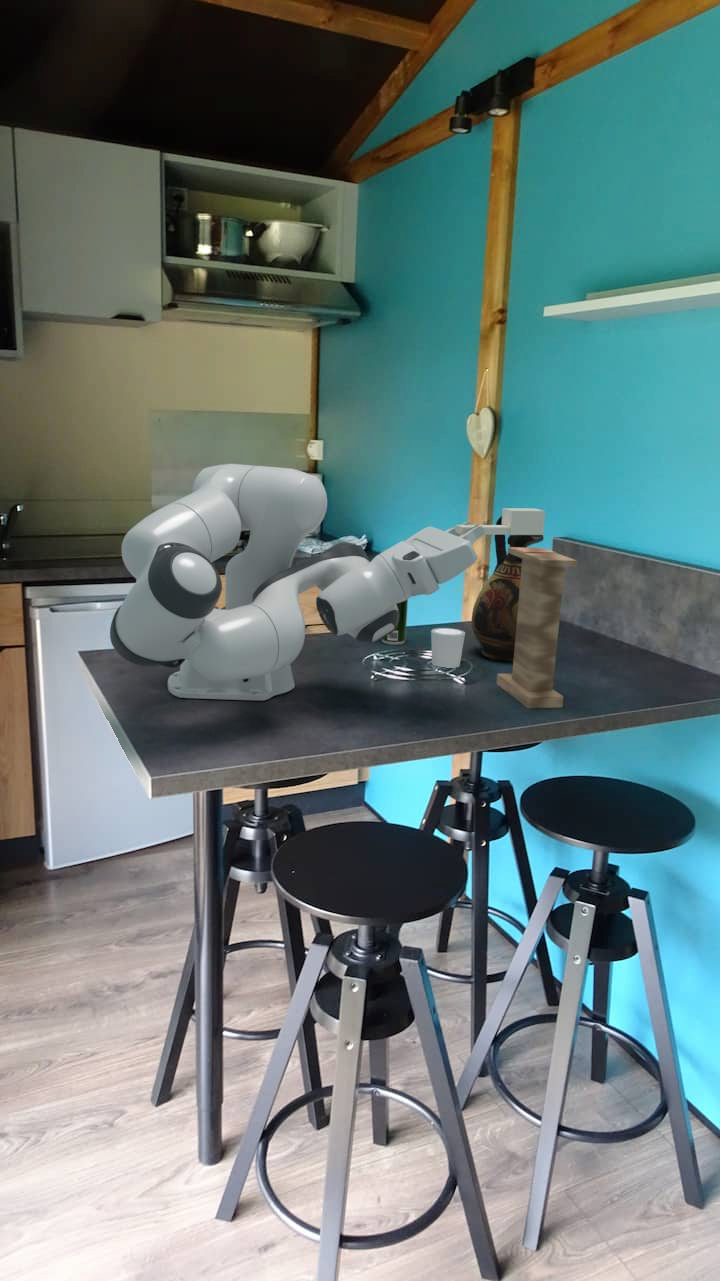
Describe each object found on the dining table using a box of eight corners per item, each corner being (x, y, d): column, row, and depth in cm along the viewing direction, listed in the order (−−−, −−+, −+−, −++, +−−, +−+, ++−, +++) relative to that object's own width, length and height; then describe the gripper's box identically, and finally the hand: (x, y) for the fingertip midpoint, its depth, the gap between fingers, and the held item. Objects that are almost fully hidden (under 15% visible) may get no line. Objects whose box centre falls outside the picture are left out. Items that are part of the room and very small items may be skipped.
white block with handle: (462, 534, 152) (464, 510, 151) (454, 531, 156) (455, 507, 155) (543, 534, 156) (545, 511, 155) (533, 531, 160) (535, 508, 159)
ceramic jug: (557, 660, 195) (571, 517, 188) (503, 668, 186) (515, 519, 179) (502, 642, 208) (513, 508, 201) (449, 649, 200) (459, 510, 193)
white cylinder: (465, 669, 184) (468, 635, 182) (431, 668, 184) (433, 634, 182) (460, 660, 191) (462, 627, 189) (426, 659, 190) (429, 626, 189)
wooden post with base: (527, 708, 161) (541, 559, 155) (496, 683, 175) (508, 546, 169) (562, 707, 162) (577, 559, 156) (528, 683, 177) (541, 546, 170)
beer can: (406, 645, 201) (409, 591, 198) (381, 644, 201) (384, 590, 198) (403, 639, 207) (407, 586, 204) (379, 639, 206) (382, 585, 203)
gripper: (396, 574, 164) (462, 535, 165) (434, 596, 145) (509, 552, 146) (381, 543, 162) (447, 504, 163) (417, 562, 143) (492, 517, 144)
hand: (477, 527), depth 155 cm, fingers closed on white block with handle, 3 cm apart
